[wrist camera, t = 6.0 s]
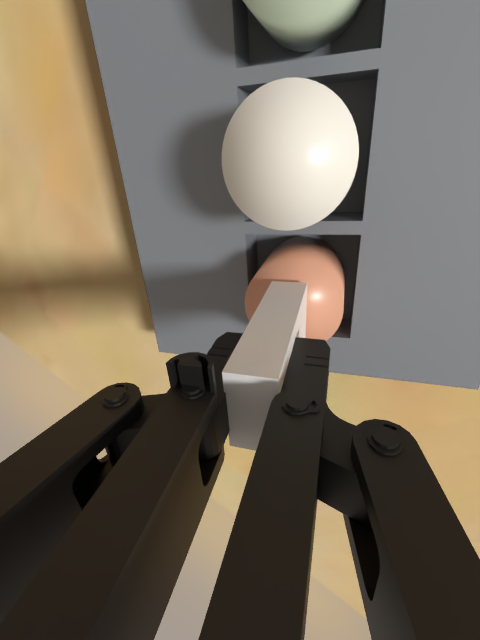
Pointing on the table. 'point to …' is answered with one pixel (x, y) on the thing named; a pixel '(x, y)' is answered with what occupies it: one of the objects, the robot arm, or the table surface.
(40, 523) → the robot arm
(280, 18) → the sage button
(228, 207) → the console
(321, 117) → the white egg
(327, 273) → the terracotta button
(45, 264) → the table surface
